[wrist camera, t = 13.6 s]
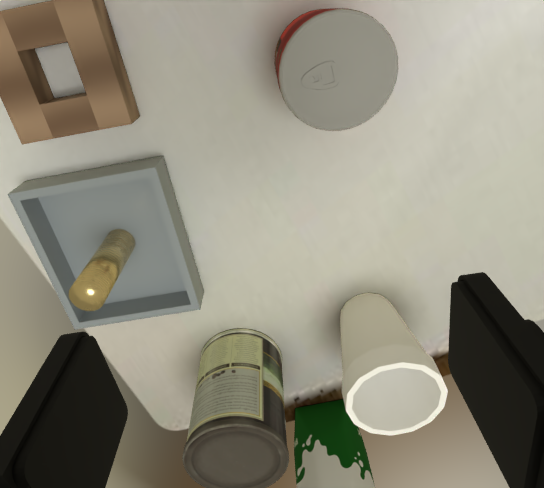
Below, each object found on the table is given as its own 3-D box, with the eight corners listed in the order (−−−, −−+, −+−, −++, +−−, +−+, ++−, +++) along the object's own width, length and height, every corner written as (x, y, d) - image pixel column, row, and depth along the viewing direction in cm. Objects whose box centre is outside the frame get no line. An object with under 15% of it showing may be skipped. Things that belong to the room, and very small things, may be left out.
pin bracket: (-14, 17, 37) (-35, 18, 34) (101, -7, 36) (89, -8, 33) (37, 135, 41) (22, 144, 39) (139, 116, 41) (131, 123, 38)
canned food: (257, 42, 38) (257, 53, 28) (340, -12, 36) (369, -20, 27) (300, 119, 41) (313, 153, 31) (378, 72, 39) (417, 93, 30)
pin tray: (25, 181, 43) (7, 194, 40) (163, 155, 42) (155, 167, 39) (86, 310, 51) (74, 329, 48) (203, 290, 50) (200, 309, 47)
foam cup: (422, 308, 52) (468, 393, 40) (368, 356, 55) (397, 447, 44) (363, 267, 49) (395, 346, 38) (310, 321, 52) (324, 408, 41)
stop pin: (102, 231, 45) (62, 284, 37) (130, 226, 45) (97, 279, 36) (112, 256, 47) (76, 313, 38) (139, 251, 47) (109, 308, 38)
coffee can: (298, 349, 54) (309, 449, 42) (254, 400, 58) (253, 505, 46) (226, 314, 52) (215, 410, 39) (185, 370, 56) (163, 473, 43)
